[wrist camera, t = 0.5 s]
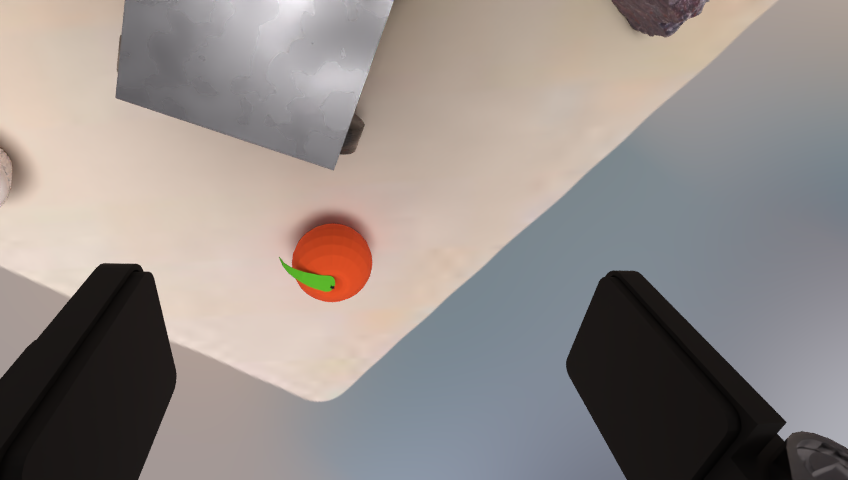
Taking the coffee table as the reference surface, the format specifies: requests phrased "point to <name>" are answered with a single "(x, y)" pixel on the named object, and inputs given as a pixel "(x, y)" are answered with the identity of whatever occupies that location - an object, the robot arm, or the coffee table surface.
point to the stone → (659, 14)
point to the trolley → (255, 68)
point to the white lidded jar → (5, 176)
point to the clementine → (331, 262)
